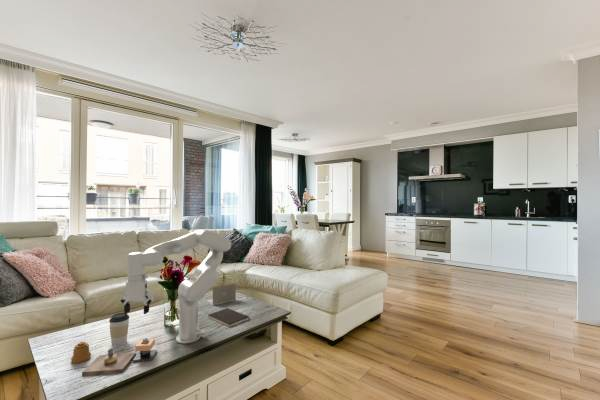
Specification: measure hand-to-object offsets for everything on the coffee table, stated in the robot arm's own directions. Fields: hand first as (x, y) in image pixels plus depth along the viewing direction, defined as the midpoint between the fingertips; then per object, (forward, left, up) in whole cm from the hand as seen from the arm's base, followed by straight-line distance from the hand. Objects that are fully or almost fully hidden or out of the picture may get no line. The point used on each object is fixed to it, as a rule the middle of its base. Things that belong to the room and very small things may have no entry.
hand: (136, 312), depth 140 cm
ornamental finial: (+24, +1, -21) cm, 32 cm away
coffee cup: (+14, -14, -21) cm, 28 cm away
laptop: (-31, -74, -21) cm, 83 cm away
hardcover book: (-40, -39, -21) cm, 60 cm away
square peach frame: (-5, +3, -16) cm, 17 cm away
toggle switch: (+8, +8, -20) cm, 23 cm away
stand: (-5, +3, -20) cm, 21 cm away
